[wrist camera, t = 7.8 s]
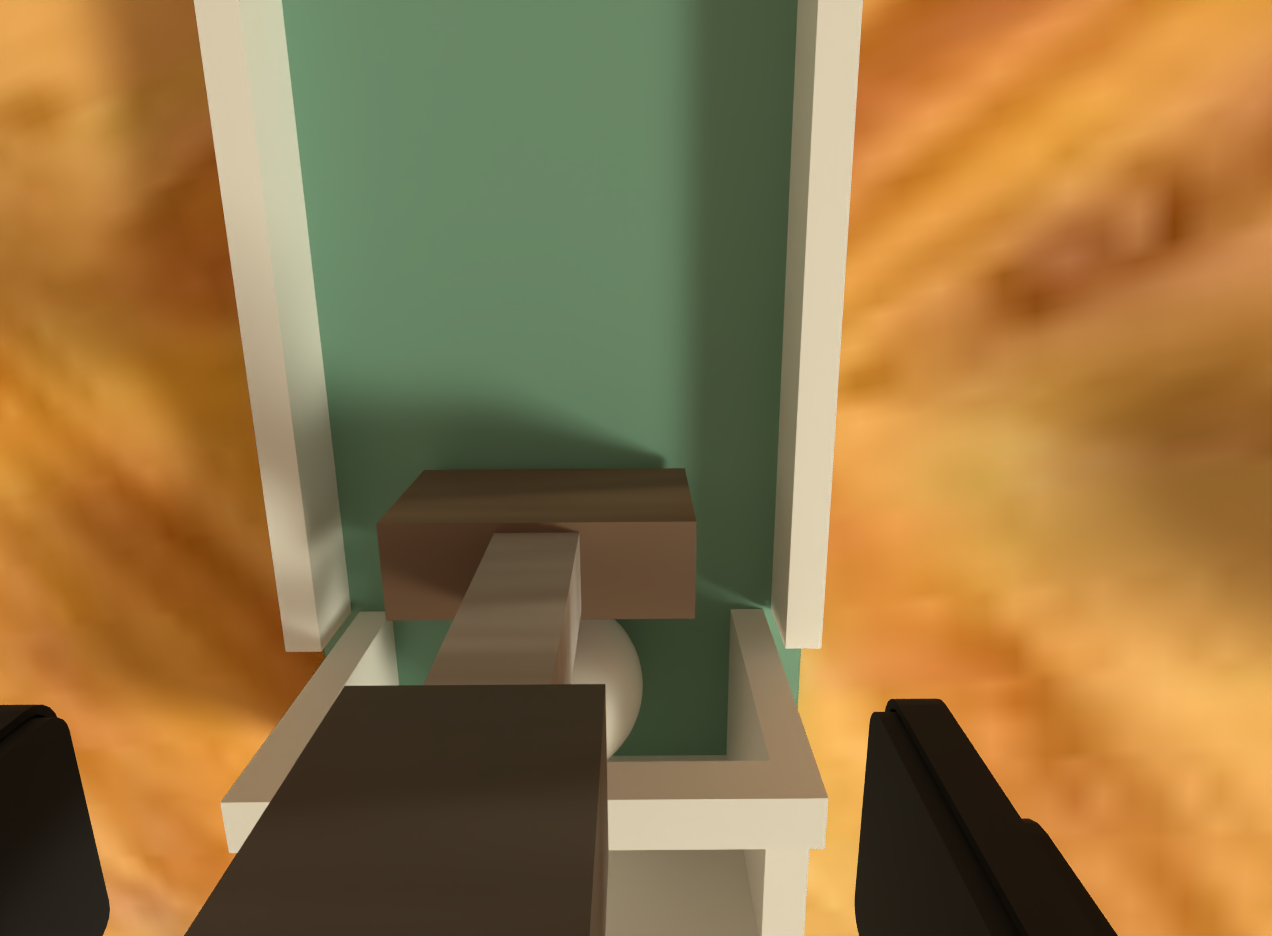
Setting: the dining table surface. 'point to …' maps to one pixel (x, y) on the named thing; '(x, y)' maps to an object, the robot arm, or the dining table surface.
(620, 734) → the ball
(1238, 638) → the dining table surface
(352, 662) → the pitch
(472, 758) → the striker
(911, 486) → the dining table surface
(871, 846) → the robot arm
